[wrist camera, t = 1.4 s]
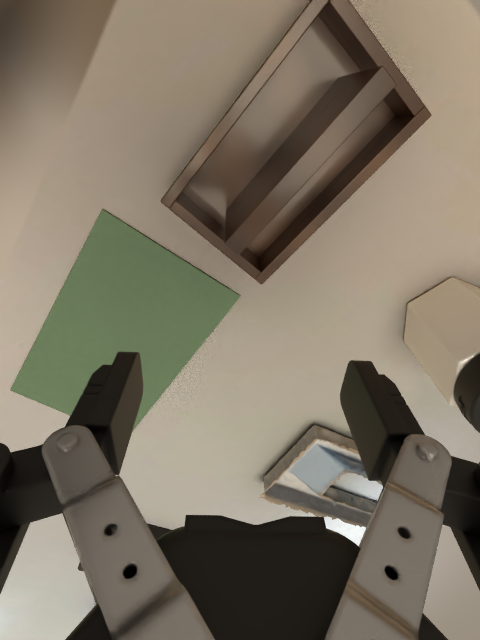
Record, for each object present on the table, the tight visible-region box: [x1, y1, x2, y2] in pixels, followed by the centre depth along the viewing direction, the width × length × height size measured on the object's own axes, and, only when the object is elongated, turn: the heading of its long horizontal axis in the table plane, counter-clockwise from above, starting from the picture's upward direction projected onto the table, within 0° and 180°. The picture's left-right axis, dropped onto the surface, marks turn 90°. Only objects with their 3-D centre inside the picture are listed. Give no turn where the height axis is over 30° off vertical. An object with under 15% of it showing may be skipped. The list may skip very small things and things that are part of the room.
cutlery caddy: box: [161, 0, 431, 284], centre depth 24 cm, size 16×10×9 cm, turn 138°
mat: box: [11, 209, 240, 431], centre depth 36 cm, size 24×14×1 cm, turn 144°
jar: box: [404, 277, 480, 433], centre depth 30 cm, size 9×8×12 cm
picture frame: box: [259, 425, 382, 528], centre depth 47 cm, size 13×25×3 cm, turn 61°
